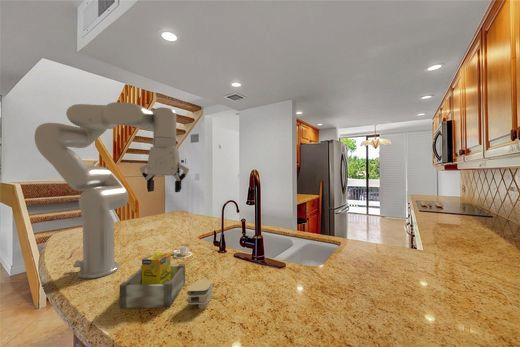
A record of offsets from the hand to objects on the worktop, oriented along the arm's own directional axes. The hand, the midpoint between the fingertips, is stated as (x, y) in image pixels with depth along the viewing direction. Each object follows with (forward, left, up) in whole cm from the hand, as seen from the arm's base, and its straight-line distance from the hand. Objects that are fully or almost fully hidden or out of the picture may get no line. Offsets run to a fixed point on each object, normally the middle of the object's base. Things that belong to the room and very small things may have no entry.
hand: (164, 191), depth 81 cm
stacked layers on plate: (+17, -18, -31) cm, 39 cm away
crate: (+2, -13, -30) cm, 33 cm away
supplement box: (+2, -13, -30) cm, 32 cm away
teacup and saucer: (0, +23, -31) cm, 38 cm away
